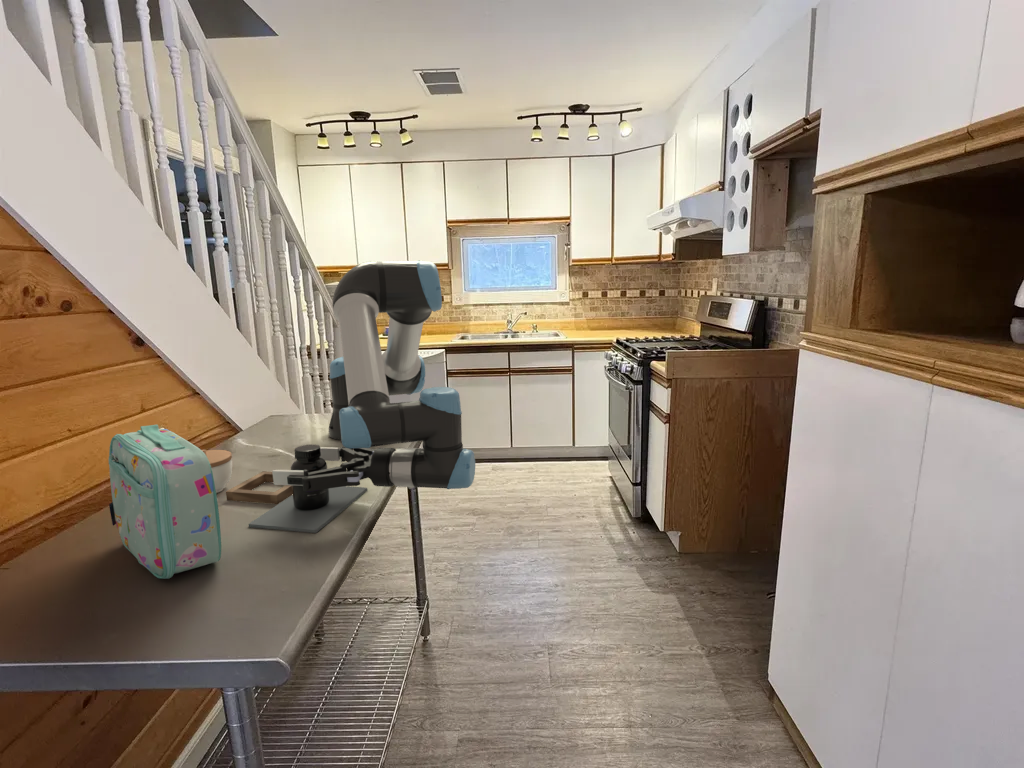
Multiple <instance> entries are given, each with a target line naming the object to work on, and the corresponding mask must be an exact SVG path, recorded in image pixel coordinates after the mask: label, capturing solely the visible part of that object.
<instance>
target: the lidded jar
mask: <svg viewBox="0 0 1024 768" xmlns="http://www.w3.org/2000/svg"><path fill="white" fill-rule="evenodd" d="M201 450H202V451H203V452H204V453H205V455H206V456H207V458H208V460H209V463H210V465H211V469H212V473H213V478H214V483H215V489H216V494H218V493H220V492H222V491H223V490H225V487H226V486H227V484H228V483H229V482H230V480H231V478H232V475H233V473H232V472H233V459H232V458H233V454H232V452H231V451H229V450H225V449H208V450H206V449H201ZM221 490H222V491H221Z"/></svg>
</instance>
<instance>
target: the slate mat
mask: <svg viewBox="0 0 1024 768" xmlns="http://www.w3.org/2000/svg"><path fill="white" fill-rule="evenodd" d="M367 491H368V487H362V486H343V487H336V488H329V502H328V504H327V505H326V506H324V507H322V508H319V509H315V510H309V511H304V510H298V509H297V508H295V506H294V502H293V495H291V496H290V497H288V498H287V499H285V500H283V501H282V502H280V503H279V504H275V506H274V507H272V508H269V510H267V511H266V512H264V513H262V514H261V515H260V516H259V517H256V518H255V519H254V520H252V521H251V522H249V523H248V528H257V529H267V530H279V531H291V532H299V533H300V532H302V533H313V534H314V533H315V534H317V533H318V532H319V531H320V530H321V529H322V528H324V527H325V526H326V525H328V523H330V522H332V521H333V519H335V518H336V517H337V516H339V514H341V513H342V512H343V511H345V510H346V509H347V508H348V507H349V506H350V505H352V504H353V503H354V502H355V501H356V500H357V499H359V498H360V497H361V496H362V495H364V494H365V493H366V492H367Z"/></svg>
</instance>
